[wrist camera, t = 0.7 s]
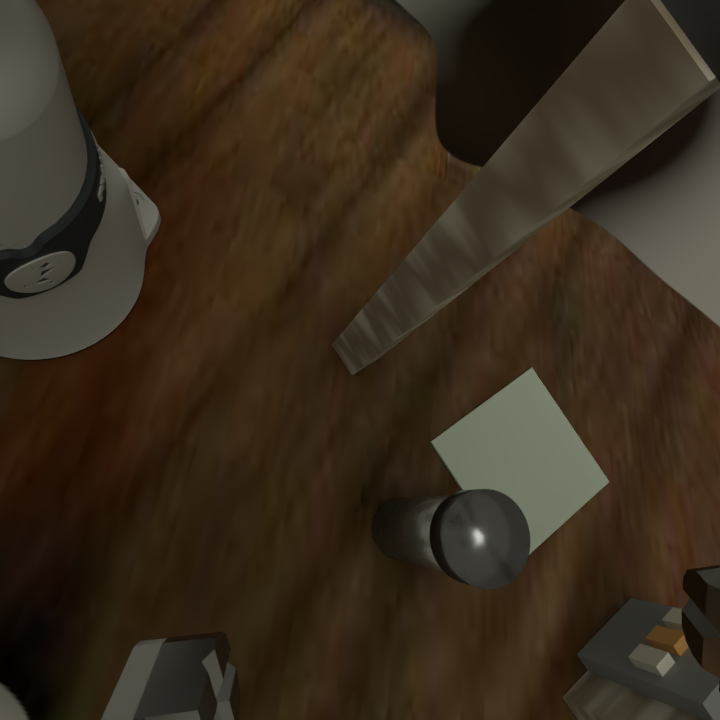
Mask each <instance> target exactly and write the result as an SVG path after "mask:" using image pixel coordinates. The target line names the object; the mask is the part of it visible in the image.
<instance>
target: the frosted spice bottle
mask: <svg viewBox="0 0 720 720" xmlns="http://www.w3.org/2000/svg"><path fill="white" fill-rule="evenodd" d="M372 532H373V537H374V540H375V543H376V545H377V546H378V548H379V549H380V550H381V551H382V552H383V553H384V554H385V555H387V556H389V557H391V558H394V559H398V560H401V561H405V562H409V563H412V564H416V565H420V566H424V567H427V568H431V569H435V570H438V571H442V572H445V573H446V574H447V575H448V576H450V577H451V578H453V579H454V580H456V581H459V582H461V583H465V584H468V585H472V586H475V587H479V588H483V589H496V588H500V587H503V586H505V585H507V584H509V583H510V582H512V581H513V580H514V579H515V578H516V577H517V576H518V575H519V574H520V573H521V571H522V570H523V568H524V566H525V564H526V562H527V559H528V556H529V552H530V531H529V526H528V523H527V520H526V518H525V516H524V514H523V512H522V510H521V509H520V508H519V506H518V505H517V504H516V503H515V502H514V501H513V500H512V499H511V498H510V497H508V496H507V495H505V494H504V493H501V492H499V491H496V490H492V489H473V490H462V491H458V492H455V493H453V494H451V495H450V496H427V497H399V498H393V499H390V500H388V501H386V502H385V503H383V504H382V505H381V506H380V507H379V509H378V510H377V512H376V514H375V516H374V519H373V524H372Z"/></svg>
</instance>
